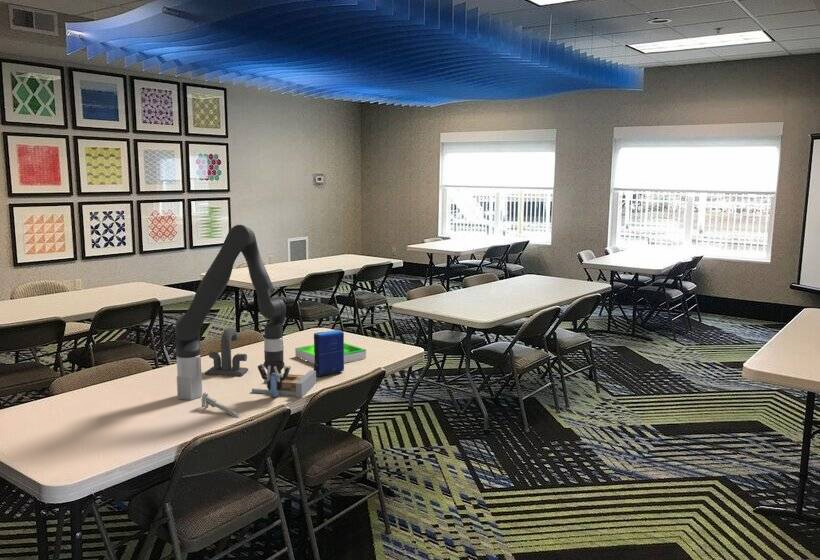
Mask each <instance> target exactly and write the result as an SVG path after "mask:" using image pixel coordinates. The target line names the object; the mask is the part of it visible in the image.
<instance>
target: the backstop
mask: <svg viewBox="0 0 820 560" xmlns="http://www.w3.org/2000/svg"><path fill="white" fill-rule="evenodd" d="M303 375H304V376H303V377H302V378H301V379H300V380H299V381H298V382H297V383H296V391H285V390H279V396H280V395H284V396H295V398H297V399H300V398H301V399H302V398H303V397H305V396H306V394H307V393H309V392H310V390H312V389H311V388H312V387H313V386H314V385H315V384H317V376H316V371H314V369H313V370H309V371H308V372H306V373H305V374H303ZM263 383H264V384H267V380H265V379H263ZM314 387H315V386H314ZM314 387H313V388H314ZM251 393H253V394H256V393H257V394H267V395H271V390H268V388H255V387H254V388H253V387H252V388H251Z"/></svg>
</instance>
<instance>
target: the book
mask: <svg viewBox="0 0 820 560" xmlns="http://www.w3.org/2000/svg"><path fill="white" fill-rule="evenodd" d="M344 337H345V334H344V331H342V330H340V329H335V330H327V331H322V332H314V333H313V342H314V343H313V345H314V353H315V357H314V358H315V363H314V364H313V371H316V377H323V376H330V375H335V374H339V373H341V372H344V370H345V364H344V343H345V342H344V341H345V340H344V339H345V338H344Z"/></svg>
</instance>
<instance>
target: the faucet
mask: <svg viewBox="0 0 820 560" xmlns="http://www.w3.org/2000/svg"><path fill="white" fill-rule="evenodd" d="M221 334H222V335H221V336H220V337H221V338H220V354H219V352H217V351H214V350H211V351H209V353H208V357H209V358H210V359H212V360H213V366H212V367H210V368H209V369H207V370H206V371H205V372H204V375H205V376H218V375H222V377H223V376H224V377H243V376H244V375H246V373H248V372H249V368H247V367H241V363H240V362H247V359H248V354H247V353H236V354H235V355H233V357H232V345H231V344H232V342H236V341H238V340H239V334H238V332H237V330H236V329H235V328H233V327H227V328H225V329H224V330H223V332H222V333H221ZM247 371H248V372H247Z"/></svg>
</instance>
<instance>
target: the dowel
mask: <svg viewBox="0 0 820 560" xmlns="http://www.w3.org/2000/svg"><path fill="white" fill-rule="evenodd" d="M277 382H278V381H277V377H276V374H275V373H272V374H271V375H270V388H271V394H270V397H273V398H275V397H279V396H280V394H279V391H277Z"/></svg>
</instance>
